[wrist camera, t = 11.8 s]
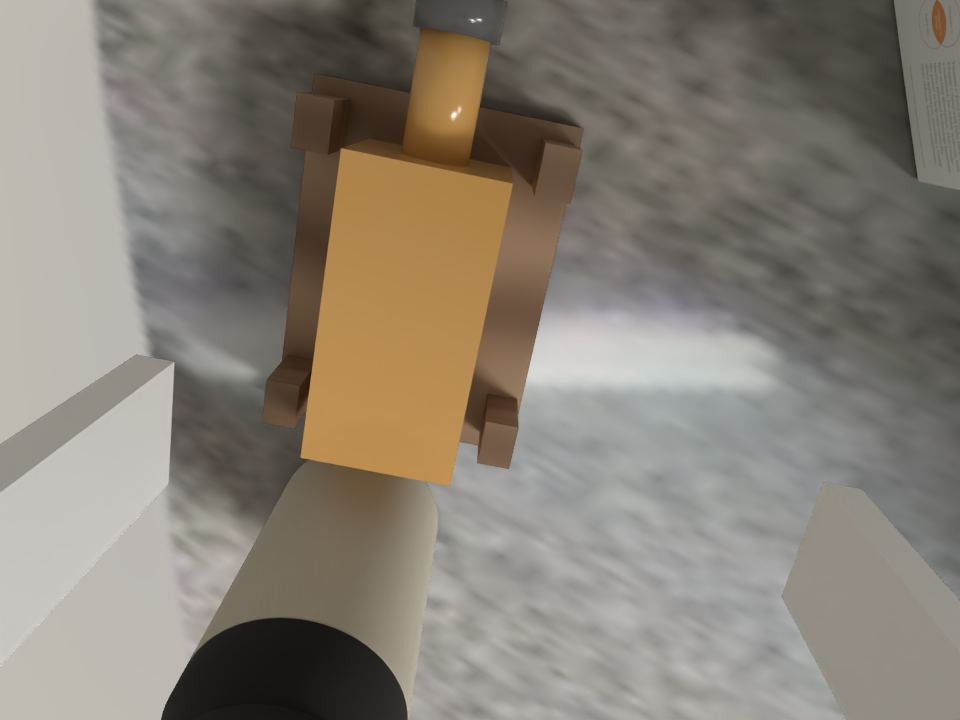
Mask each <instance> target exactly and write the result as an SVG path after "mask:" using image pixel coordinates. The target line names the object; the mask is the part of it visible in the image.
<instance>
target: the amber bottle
mask: <svg viewBox="0 0 960 720" xmlns="http://www.w3.org/2000/svg"><path fill="white" fill-rule="evenodd" d="M507 4H508V3H507V2H506V1H504V0H416V5H415V12H414V18H413V25H412V26H413V27H415V28H417V29H420V35H419V41H418V48H417V54H416V60H415V67H414V73H413V79H412V86H411V92H410V98H409V105H408V111H407V118H406V124H405V130H404V137H403V143H402V145H399V144H394V143H390V142H385V141H380V140H375V139H367V140H364V141H361V142H358V143H355V144H352V145H349V146H347V147H344V148H341V153H340V161H339V168H338V176H337V183H336V191H335V199H334V206H333V214H332V221H331V229H330V237H329V244H328V252H327V259H326V267H325V275H324V282H323V290H322V298H321V305H320V313H319V320H318V328H317V336H316V343H315V351H314V358H313V366H312V374H311V381H310V389H309V396H308V404H307V412H306V419H305V427H304V434H303V442H302V450H301V457H300V458H304V459H310V460H315V461H320V462H325V463H331V464H336V465H341V466H346V467H352V468H357V469H362V470H368V471H373V472H378V473H383V474H389V475H394V476H399V477H404V478H410V479H415V480H420V481H425V482H431V483H436V484H441V485H446V486H450V484H451V479H452V474H453V469H454V465H455V460H456V455H457V450H458V445H459V441H460V436H461V431H462V426H463V421H464V417H465V412H466V407H467V402H468V397H469V393H470V388H471V383H472V378H473V373H474V369H475V364H476V359H477V354H478V349H479V345H480V340H481V335H482V330H483V325H484V321H485V316H486V311H487V306H488V301H489V297H490V292H491V287H492V282H493V277H494V273H495V268H496V263H497V258H498V253H499V249H500V244H501V239H502V234H503V230H504V225H505V220H506V215H507V210H508V206H509V201H510V196H511V191H512V186H513V178H512V169H511V167H506V166H501V165H496V164H491V163H486V162H482V161H477V160H472V159H470V155H471V150H472V144H473V139H474V134H475V128H476V123H477V118H478V112H479V107H480V102H481V96H482V91H483V86H484V80H485V75H486V70H487V64H488V59H489V54H490V48H491V45H500V40H501V35H502V30H503V24H504V19H505V14H506V9H507Z"/></svg>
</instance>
